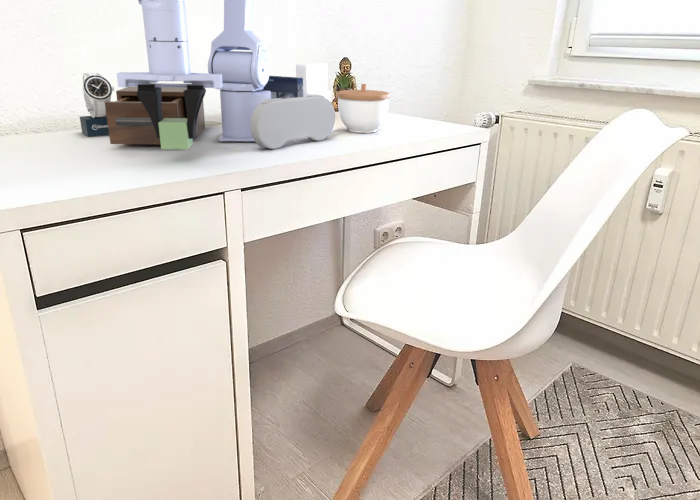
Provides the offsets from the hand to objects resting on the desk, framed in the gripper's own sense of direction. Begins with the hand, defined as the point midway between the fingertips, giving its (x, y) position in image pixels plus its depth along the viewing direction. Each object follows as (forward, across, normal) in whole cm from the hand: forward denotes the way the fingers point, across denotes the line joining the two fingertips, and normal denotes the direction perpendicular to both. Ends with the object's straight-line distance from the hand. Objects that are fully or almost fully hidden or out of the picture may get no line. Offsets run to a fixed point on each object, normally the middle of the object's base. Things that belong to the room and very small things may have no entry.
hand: (176, 137), depth 83 cm
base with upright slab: (+4, +22, +49) cm, 54 cm away
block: (+1, 0, 0) cm, 1 cm away
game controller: (+4, +18, +15) cm, 24 cm away
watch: (+4, -19, +24) cm, 31 cm away
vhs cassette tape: (+4, +11, +40) cm, 41 cm away
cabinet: (+4, -7, +25) cm, 26 cm away
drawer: (+3, -7, +14) cm, 15 cm away
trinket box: (+4, +32, +30) cm, 44 cm away
